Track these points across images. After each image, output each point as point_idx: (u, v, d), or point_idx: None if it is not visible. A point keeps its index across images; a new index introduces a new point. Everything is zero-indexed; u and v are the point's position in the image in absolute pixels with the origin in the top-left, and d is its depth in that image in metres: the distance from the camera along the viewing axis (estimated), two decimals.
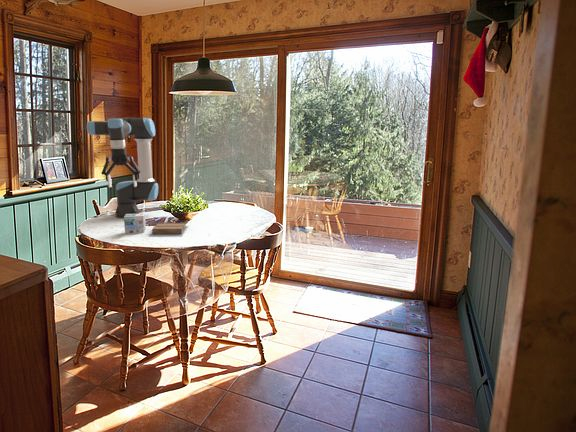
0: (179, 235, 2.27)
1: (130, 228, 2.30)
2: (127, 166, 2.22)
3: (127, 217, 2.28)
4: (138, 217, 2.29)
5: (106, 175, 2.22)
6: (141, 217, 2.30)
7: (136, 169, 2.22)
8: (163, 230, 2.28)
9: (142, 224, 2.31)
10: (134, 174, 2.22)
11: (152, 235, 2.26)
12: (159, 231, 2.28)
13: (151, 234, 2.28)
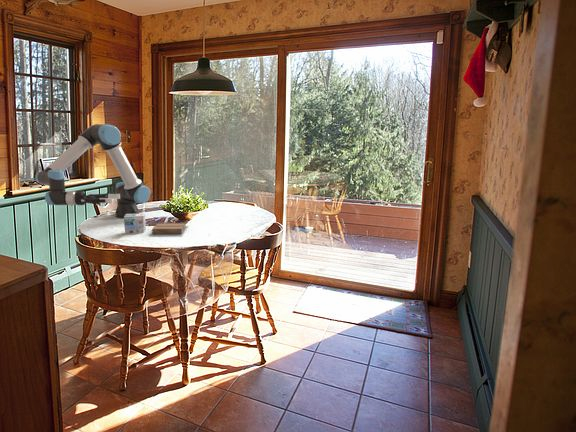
0: (179, 235, 2.27)
1: (130, 228, 2.30)
2: None
3: (127, 217, 2.28)
4: (138, 217, 2.30)
5: (108, 198, 2.36)
6: (141, 217, 2.30)
7: None
8: (163, 230, 2.28)
9: (142, 224, 2.31)
10: (98, 204, 2.21)
11: (152, 235, 2.26)
12: (159, 231, 2.28)
13: (151, 234, 2.28)
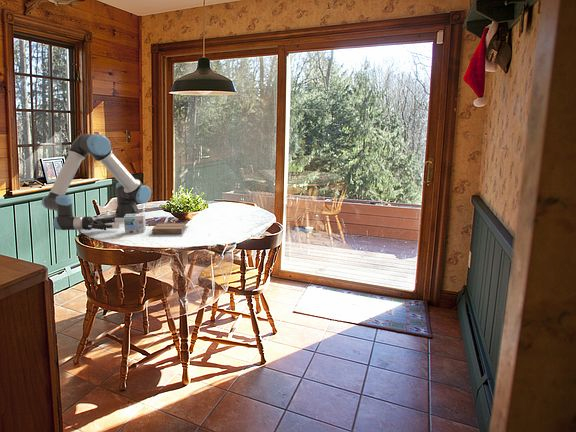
0: (179, 235, 2.27)
1: (130, 228, 2.30)
2: None
3: (127, 217, 2.28)
4: (138, 217, 2.29)
5: (115, 222, 2.39)
6: (141, 217, 2.30)
7: None
8: (163, 230, 2.28)
9: (142, 224, 2.31)
10: (105, 229, 2.24)
11: (152, 235, 2.26)
12: (159, 231, 2.28)
13: (151, 234, 2.28)
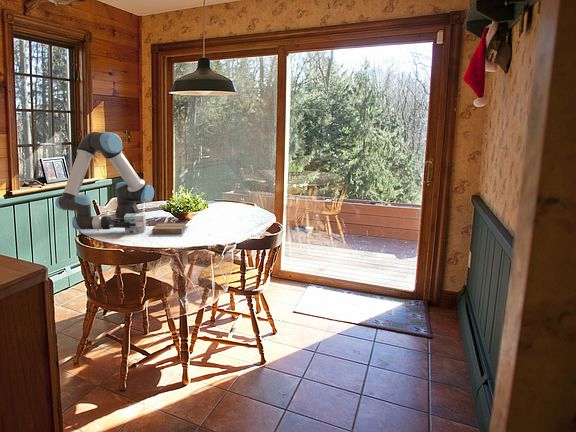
0: (179, 235, 2.27)
1: (130, 227, 2.30)
2: None
3: (127, 217, 2.28)
4: (138, 217, 2.29)
5: None
6: (141, 217, 2.30)
7: (123, 227, 2.26)
8: (163, 230, 2.28)
9: (142, 224, 2.31)
10: None
11: (152, 235, 2.26)
12: (159, 231, 2.28)
13: (151, 234, 2.28)
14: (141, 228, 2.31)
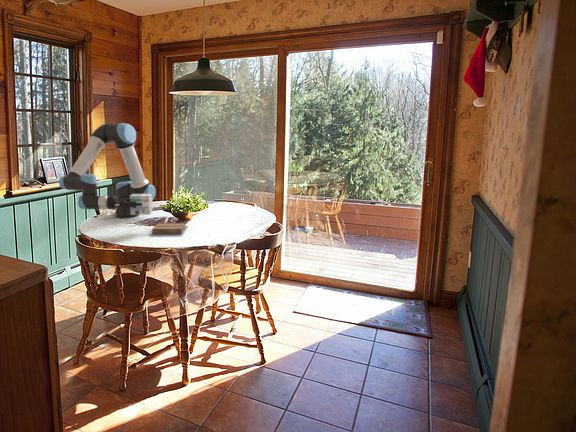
0: (179, 235, 2.27)
1: (136, 208, 2.26)
2: None
3: (133, 197, 2.25)
4: (144, 197, 2.26)
5: None
6: (147, 197, 2.26)
7: (129, 206, 2.23)
8: (163, 230, 2.28)
9: None
10: (135, 207, 2.25)
11: (152, 235, 2.26)
12: (159, 231, 2.28)
13: (151, 234, 2.28)
14: (147, 208, 2.27)
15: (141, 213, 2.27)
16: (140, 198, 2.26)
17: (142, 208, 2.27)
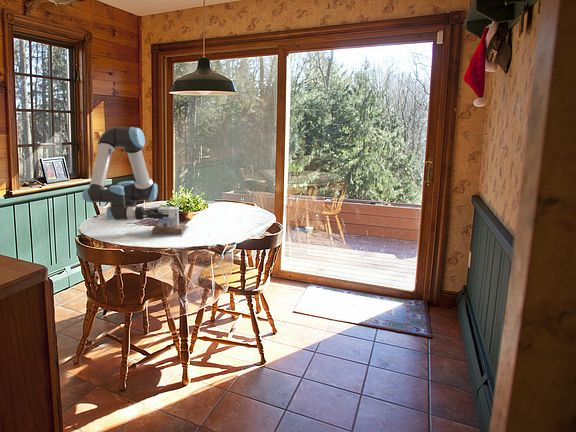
0: (179, 235, 2.27)
1: (164, 220, 2.31)
2: None
3: (161, 210, 2.29)
4: (172, 210, 2.30)
5: None
6: (175, 210, 2.30)
7: (156, 218, 2.26)
8: (163, 230, 2.28)
9: (176, 217, 2.31)
10: (161, 218, 2.28)
11: (152, 235, 2.26)
12: (159, 231, 2.28)
13: (151, 234, 2.28)
14: (174, 221, 2.32)
15: (169, 226, 2.32)
16: (168, 211, 2.30)
17: (170, 221, 2.31)
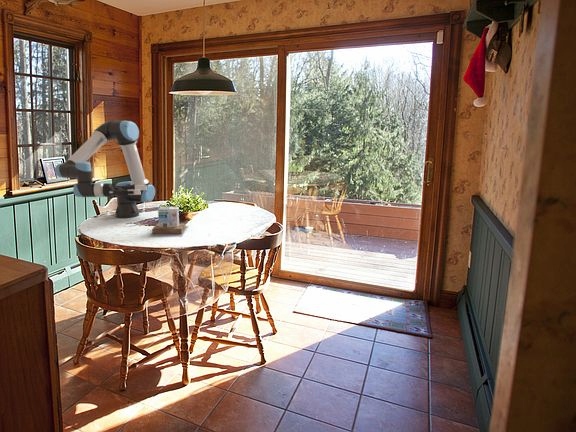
0: (179, 235, 2.27)
1: (164, 220, 2.31)
2: None
3: (161, 210, 2.29)
4: (172, 210, 2.30)
5: (135, 189, 2.36)
6: (175, 210, 2.30)
7: (121, 194, 2.20)
8: (163, 230, 2.28)
9: (176, 217, 2.31)
10: (127, 195, 2.21)
11: (152, 235, 2.26)
12: (159, 231, 2.28)
13: (151, 234, 2.28)
14: (174, 221, 2.32)
15: (169, 226, 2.32)
16: (168, 211, 2.30)
17: (170, 221, 2.31)
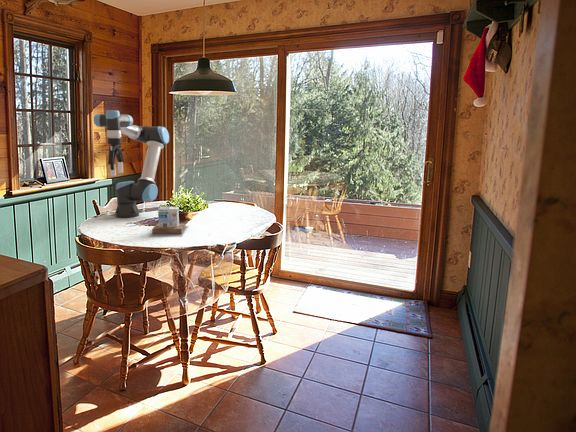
0: (179, 235, 2.27)
1: (164, 220, 2.31)
2: None
3: (161, 210, 2.29)
4: (172, 210, 2.30)
5: (118, 161, 2.48)
6: (175, 210, 2.30)
7: (108, 159, 2.31)
8: (163, 230, 2.28)
9: (176, 217, 2.31)
10: (108, 163, 2.33)
11: (152, 235, 2.26)
12: (159, 231, 2.28)
13: (151, 234, 2.28)
14: (174, 221, 2.32)
15: (169, 226, 2.32)
16: (168, 211, 2.30)
17: (170, 221, 2.31)
